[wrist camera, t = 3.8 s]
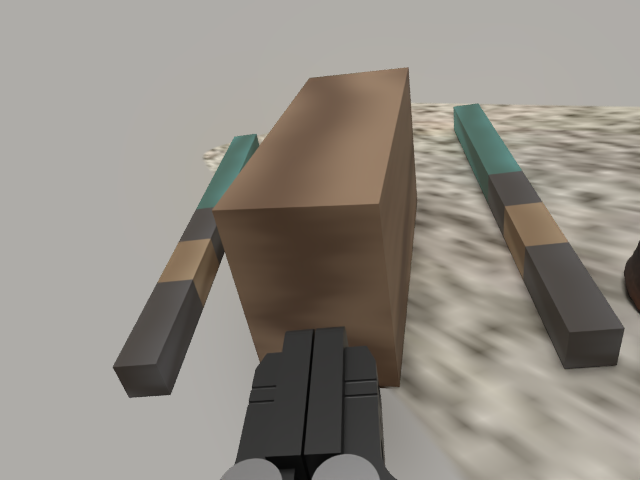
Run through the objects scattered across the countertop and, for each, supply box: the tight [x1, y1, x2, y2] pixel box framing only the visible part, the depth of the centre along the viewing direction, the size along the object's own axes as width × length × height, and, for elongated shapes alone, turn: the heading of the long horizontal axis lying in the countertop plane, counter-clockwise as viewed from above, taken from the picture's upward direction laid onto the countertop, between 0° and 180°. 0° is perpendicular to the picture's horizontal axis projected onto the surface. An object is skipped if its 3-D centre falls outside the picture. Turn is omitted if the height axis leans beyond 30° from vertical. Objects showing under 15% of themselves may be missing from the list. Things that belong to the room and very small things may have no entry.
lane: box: [113, 104, 624, 398], centre depth 33 cm, size 21×27×2 cm
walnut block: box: [212, 68, 417, 389], centre depth 26 cm, size 6×16×9 cm, turn 168°
